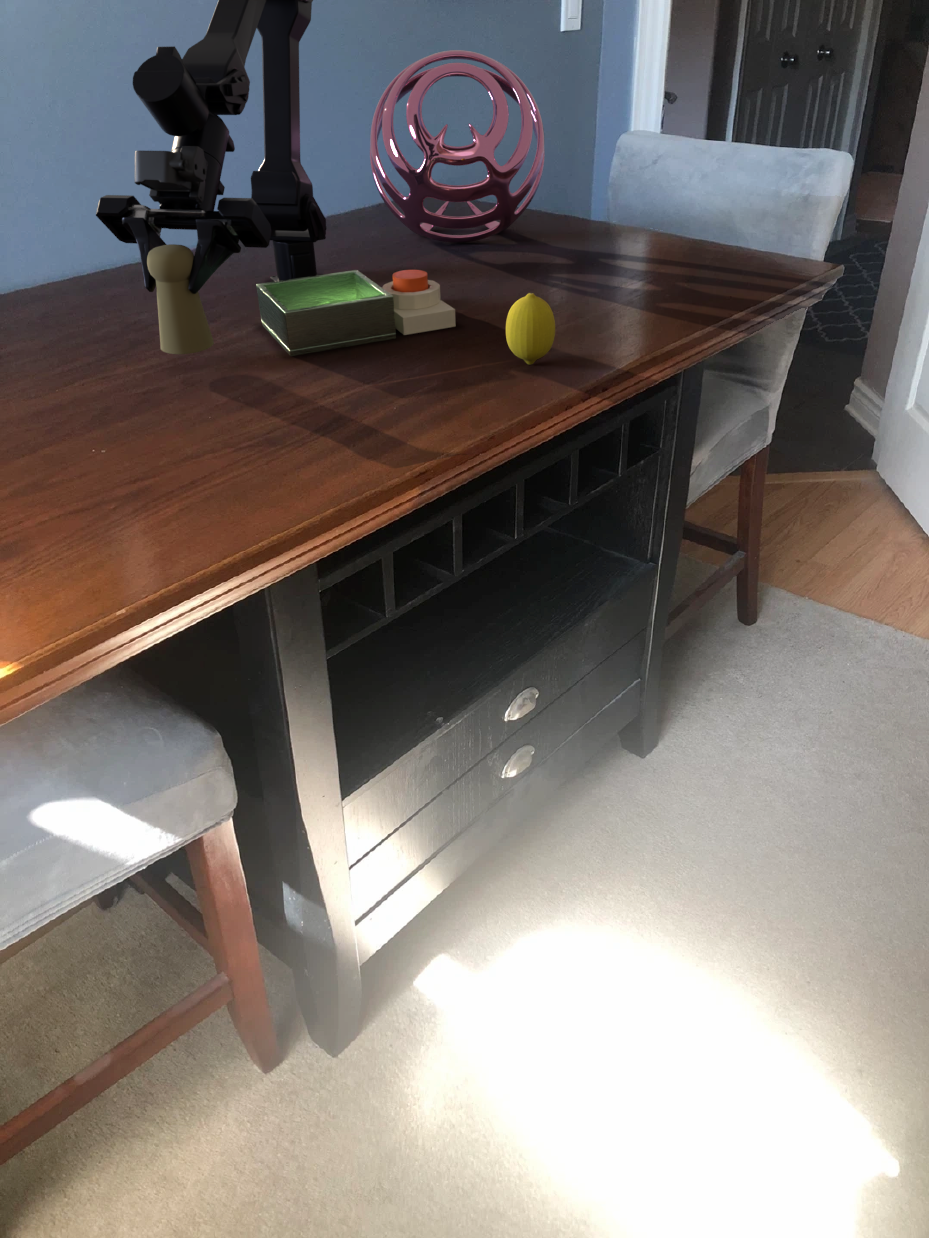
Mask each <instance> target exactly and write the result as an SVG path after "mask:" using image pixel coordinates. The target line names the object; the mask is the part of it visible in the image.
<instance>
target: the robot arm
mask: <svg viewBox="0 0 929 1238" xmlns="http://www.w3.org/2000/svg"><path fill="white" fill-rule="evenodd" d="M313 1H314V0H218V1H217V3H216V6H215V9H214V12H213V14H212V17H211V19H210V23H209V25H208V27H207V30H206V33H205V35H204V37H203V38H202V39H201V40H199V41H198V42H195V44H193V45H191V46H190V47H189V48H188V49H187V50H186V51H185V53H184V55H183V57H182V56H181V54H180V52H179V51H178V49H177V48H176V46H175V45H174V46H173V45H172V46H171V45H169V46H157V47H156V53H155V55H152V56H151V57H149V58H147V59H145V61H143V62H142V63H141V64H140V65H139V67H138V68H137V70H136V71H134V73H133V76H132V88H133V91H134V93H135V94H136V95H137V97H138V98H139V100H140V102H141V103H142V104H143V105H144V107H145V108H146V110H147V111H148V113H149V114H150V115H151V117H152V118H153V119H154V121H155V122H156V123H157V125H158V126H159V128H160V129H161V130H162V131H163V132H164V133H165V134H167V135H169V136H172V137H173V141H172V145H171V150H135V151H134V184H135V185H137V186H143V187H145V188H147V189H149V194H148V196H149V197H150V198H151V199H152V201H153V202H154V203H159V208H150V207H148V206H147V205H145V204H141V202H140V201H139V200H138V199H137V197H135V195H127V194H125V195H123V194H121V195H120V194H106V195H103V196H101V197H100V198H99V199H98V202H97V206H96V211H95V217H96V218H97V219H98V220H99V221H100V222H101V224H102V225H104V226H105V227H106V228H107V229H108V230H109V231H110V233H112V235H113V236H114V237H115V238H116V239H117V240H118V241H120V242H122V243H124V244H137V248H138V251H139V257H140V263H141V269H142V275H143V281H144V287H145V289H146V290H147V291H148V292H149V293H153V292H154V291H155V289H156V280H155V279H154V277H153V276H152V275H151V274H150V272H149V270H148V266H147V256H148V253H149V252H150V251H151V250H152V249H153V248H156V247H159V246H162V245H168V244H167V243H166V242H165V241H164V240H163V238H161V233H162V229H168V230H184V231H186V230H187V231H196V234H197V235H196V236H197V241H196V248H195V251H194V260H193V264H192V269H191V273H190V280H189V291H190V292H191V293H192V294H196V293H197V292H198V293H199V291H200V290H201V289H202V288H203V287H204V285H205V284H206V283H207V281H208V280H209V279H210V278H211V277H212V276H213V274H215V272H216V271H217V270H218V269H219V268H220V267H221V266H222V265H223V264H224V263H225V262H226V261H227V260H228V259H229V258H230V257H231V256H232V255H233V254H240V253H241V251H242V247H241V245H240V244H239V243H240V242H241V244H242V245H243V246H244V247H245V248H256V249H257V248H258V249H259V248H261V249H266V248H268V247H269V246H270V242H271V241H272V248H273V254H274V262H275V270H276V275H270V281H271V282H275V281H282V280H289V279H296V278H303V277H310V276H317V275H319V274H318V271H317V270H318V269H317V262H316V253H315V245H314V244H315V243H317V242H318V241H323V240H326V238H327V236H326V235H327V218H326V217H325V215H324V213H323V211H322V210H321V208H320V206H319V204H318V202H317V200H316V198H315V196H314V188H313V182H312V181H311V179H310V176H309V175H308V173H307V172H306V170H305V167H304V166H303V165H302V162H301V107H300V104H301V103H300V102H301V100H300V98H301V97H300V95H301V94H300V42H301V39H302V38H303V36H304V34H305V32H306V31H307V29H308V27H309V25H310V23H311V21H312V5H313ZM256 31H258V33H259V35H260V38H261V62H262V63H261V64H262V65H261V67H262V68H261V69H262V102H263V103H262V106H263V107H262V110H263V114H262V115H263V150H264V151H263V152H264V157H263V158H264V159H263V161H262V163H261V164H260V166H259V168H258V170H252V171H251V172H252V173H251V175H250V187H251V189H250V190H251V194H250V195H251V197H222V198H220V199H219V200H218V202H217V197H218V196H224V193H225V189H226V186H225V185H224V184H223V182H222V181H221V178H222V173H223V168H224V162H225V156H226V153H234V152H235V150H236V147H235V143H234V140H233V138H232V136H231V135H230V129H229V128H228V126H227V125H226V123H225V122H224V120H223V119H222V118H221V116H240V115H241V114H243V113H242V112H244V109H245V108H246V104H247V103H248V100H249V95H250V84H251V80H250V78H249V76H248V73H247V70H246V67H245V66H246V63H247V57H248V55H249V51H250V48H251V46H252V42H253V40H254V38H255V34H256ZM216 202H217V208H216V210H215V207H216Z"/></svg>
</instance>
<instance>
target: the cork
mask: <svg viewBox="0 0 929 1238" xmlns="http://www.w3.org/2000/svg"><path fill="white" fill-rule="evenodd" d="M194 255H195V253H194V252H193V251H192V250H191V249H190V247H188V246H187V245H183V244H173V243H172V244H171V243H170V244H167V245H162V246H159V247H156V248H153V249H152V250H151V251H150V252H149V253H148V256H147V266H148V270H149V272H150V274H151V275H152V276H153V277H154V279H155V280H156V287H155V289H156V302H157V303H156V304H157V315H158V317H157V318H158V329H159V331H158V332H159V345H160V351H161V352H163V353H166V354H171V355H188V354H195V353H201V352H203V351H206V350H208V349H209V348H212V346H213V345H214V343H215V342H214V338H213V335H212V332H211V329H210V326H209V322H208V319H207V315H206V313H205V310H204V306H203V304H202V301H201V297H200V293H199V291H198V292H197V293H196V294H192V293H191V292H190V291H189V280H190V273H191V269H192V264H193V260H194Z"/></svg>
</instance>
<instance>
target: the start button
mask: <svg viewBox="0 0 929 1238" xmlns="http://www.w3.org/2000/svg"><path fill="white" fill-rule="evenodd" d="M428 277H429V276H428V272H427V271H425V270H423V269H422V270H421V269H404V270H399V271H396V272H393V274H392V281H393V289H394V291H398V292H419V291H424V290H427V289H428V280H429V279H428Z"/></svg>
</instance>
